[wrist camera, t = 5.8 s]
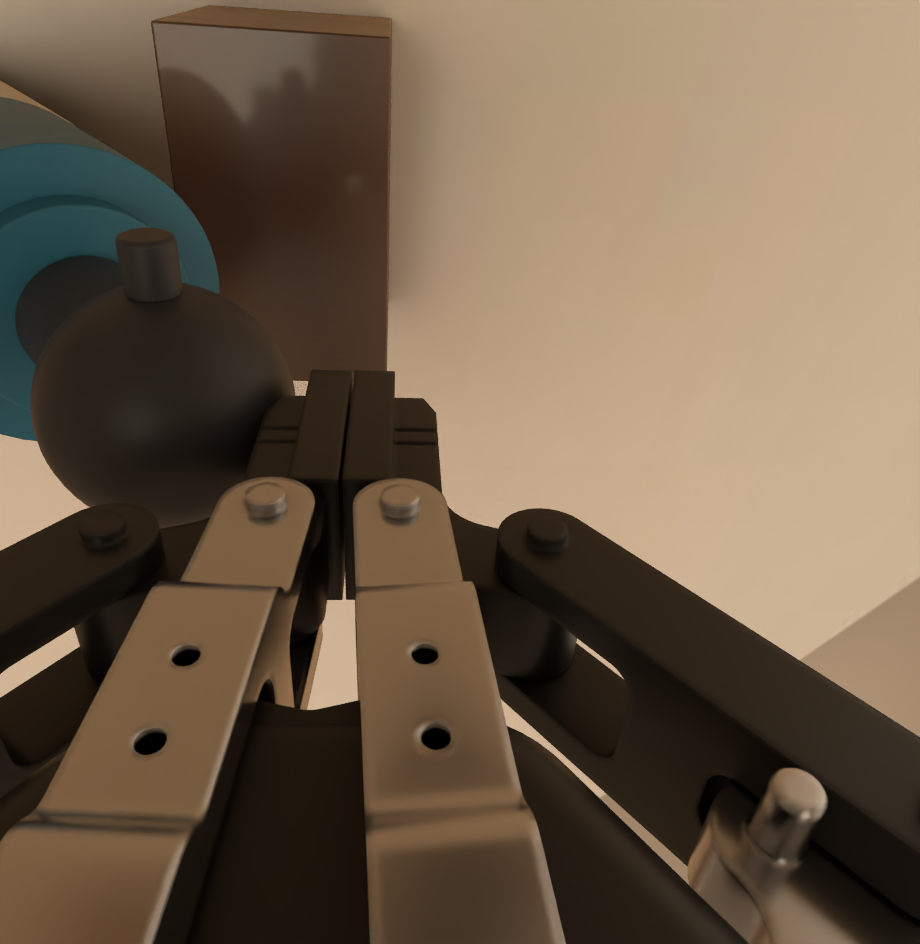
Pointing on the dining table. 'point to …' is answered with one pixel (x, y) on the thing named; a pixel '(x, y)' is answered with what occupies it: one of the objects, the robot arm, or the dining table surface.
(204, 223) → the walnut block
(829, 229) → the dining table surface
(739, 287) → the dining table surface
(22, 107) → the striped banded cylinder
